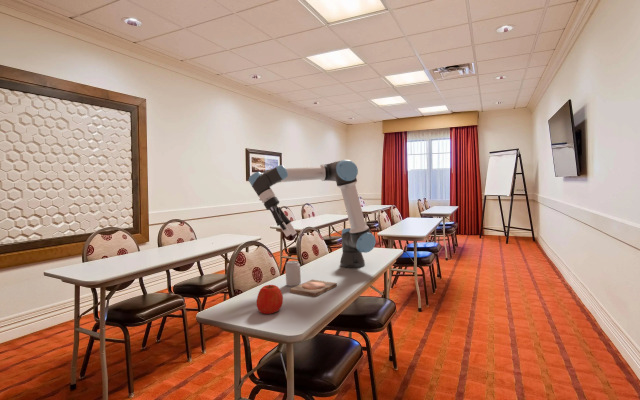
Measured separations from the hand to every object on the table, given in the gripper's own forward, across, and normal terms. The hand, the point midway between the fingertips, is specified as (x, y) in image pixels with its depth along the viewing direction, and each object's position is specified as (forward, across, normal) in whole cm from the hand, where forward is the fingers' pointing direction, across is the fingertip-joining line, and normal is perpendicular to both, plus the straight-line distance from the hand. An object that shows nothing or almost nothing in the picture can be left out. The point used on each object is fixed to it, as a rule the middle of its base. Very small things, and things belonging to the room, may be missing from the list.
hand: (291, 234), depth 172 cm
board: (+28, +3, -5) cm, 29 cm away
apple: (+24, +32, -18) cm, 44 cm away
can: (+22, -4, -14) cm, 26 cm away
